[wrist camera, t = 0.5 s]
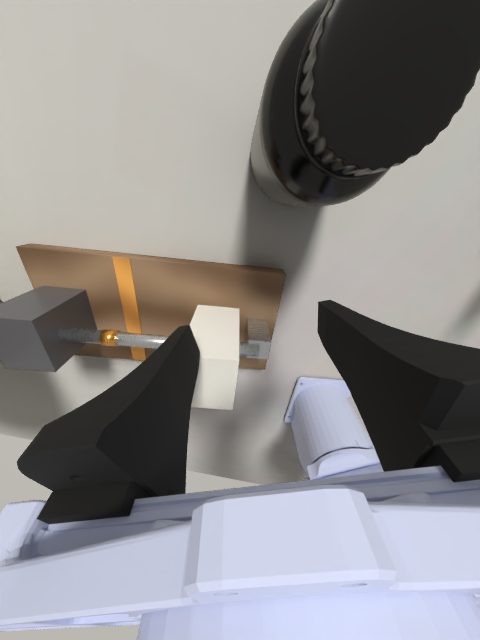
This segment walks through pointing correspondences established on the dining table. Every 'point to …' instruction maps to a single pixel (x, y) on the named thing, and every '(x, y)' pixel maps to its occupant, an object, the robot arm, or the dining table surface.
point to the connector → (42, 327)
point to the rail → (252, 348)
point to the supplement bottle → (360, 94)
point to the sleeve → (216, 356)
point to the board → (154, 292)
